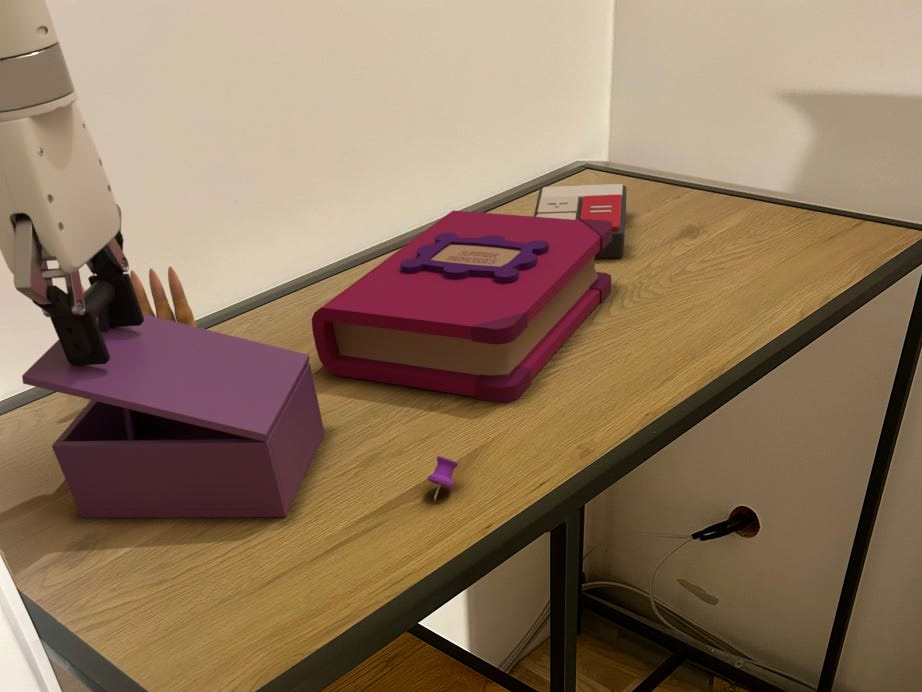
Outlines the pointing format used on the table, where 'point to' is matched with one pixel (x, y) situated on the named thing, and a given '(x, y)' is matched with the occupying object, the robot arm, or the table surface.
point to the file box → (187, 462)
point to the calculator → (588, 209)
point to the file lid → (177, 372)
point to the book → (468, 305)
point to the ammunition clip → (163, 298)
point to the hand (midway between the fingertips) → (108, 341)
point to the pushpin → (443, 473)
